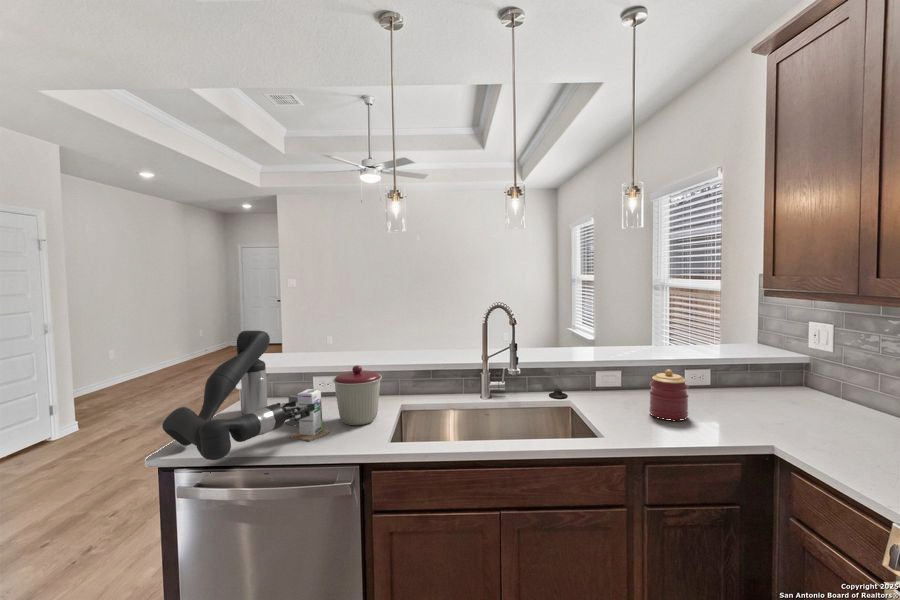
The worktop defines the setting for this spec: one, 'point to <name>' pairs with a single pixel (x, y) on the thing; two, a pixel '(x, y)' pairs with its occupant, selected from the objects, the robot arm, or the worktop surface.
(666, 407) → the canister
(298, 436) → the coaster
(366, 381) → the canister
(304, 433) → the syrup box
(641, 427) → the worktop surface
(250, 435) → the robot arm
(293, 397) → the label board
